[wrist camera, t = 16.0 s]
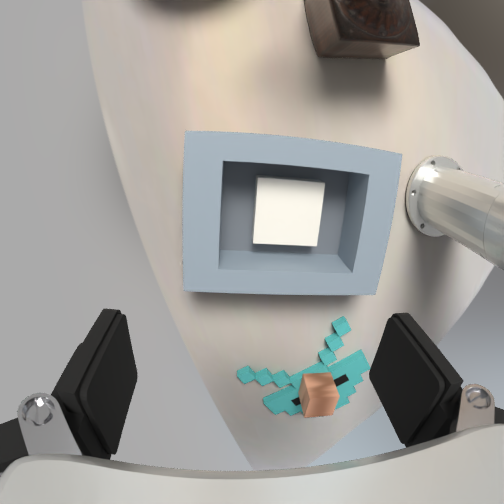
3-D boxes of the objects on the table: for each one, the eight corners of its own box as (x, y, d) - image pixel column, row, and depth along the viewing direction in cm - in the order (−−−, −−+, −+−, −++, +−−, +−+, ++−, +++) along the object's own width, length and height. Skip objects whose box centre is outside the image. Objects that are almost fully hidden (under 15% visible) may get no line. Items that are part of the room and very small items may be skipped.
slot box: (376, 149, 37) (402, 154, 31) (356, 272, 44) (375, 294, 37) (193, 131, 35) (185, 130, 29) (190, 266, 42) (183, 290, 35)
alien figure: (237, 367, 50) (288, 421, 57) (237, 376, 48) (290, 429, 55) (342, 313, 47) (375, 379, 54) (346, 320, 45) (379, 386, 52)
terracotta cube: (330, 372, 49) (339, 396, 43) (324, 391, 51) (332, 415, 45) (302, 373, 49) (309, 398, 43) (298, 392, 50) (304, 417, 45)
